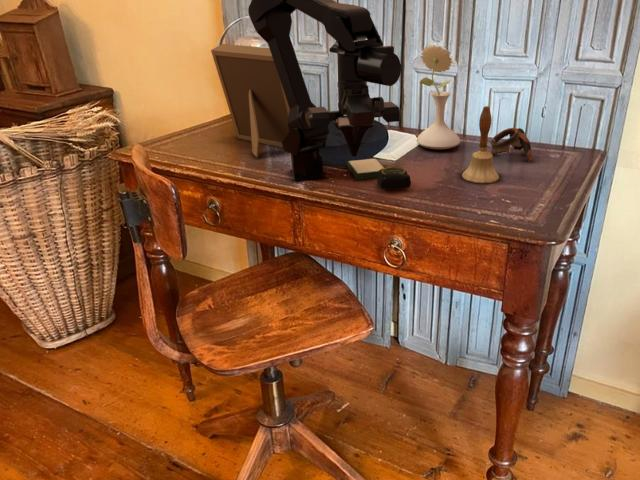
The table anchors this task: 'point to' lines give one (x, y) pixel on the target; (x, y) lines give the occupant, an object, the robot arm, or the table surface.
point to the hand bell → (482, 155)
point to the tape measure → (393, 178)
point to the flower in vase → (437, 102)
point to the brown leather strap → (512, 142)
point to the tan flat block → (364, 168)
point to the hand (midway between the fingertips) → (353, 156)
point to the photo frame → (253, 94)
